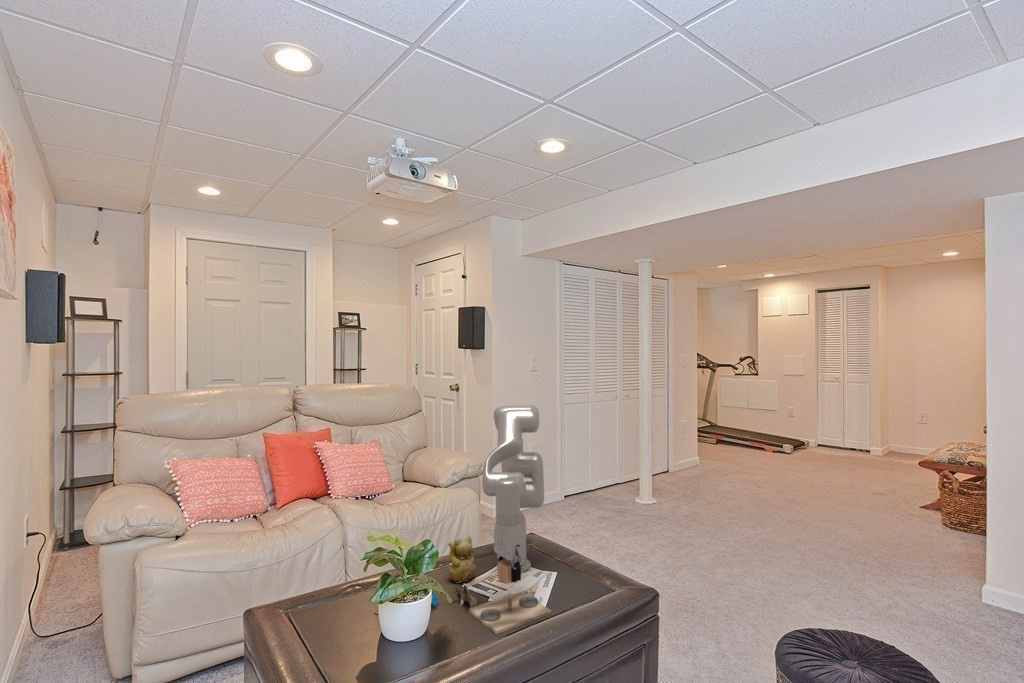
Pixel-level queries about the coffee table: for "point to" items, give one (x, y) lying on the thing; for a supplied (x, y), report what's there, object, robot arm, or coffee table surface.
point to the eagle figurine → (466, 596)
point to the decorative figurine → (461, 559)
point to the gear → (434, 599)
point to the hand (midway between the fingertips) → (509, 576)
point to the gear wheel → (505, 571)
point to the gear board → (509, 612)
